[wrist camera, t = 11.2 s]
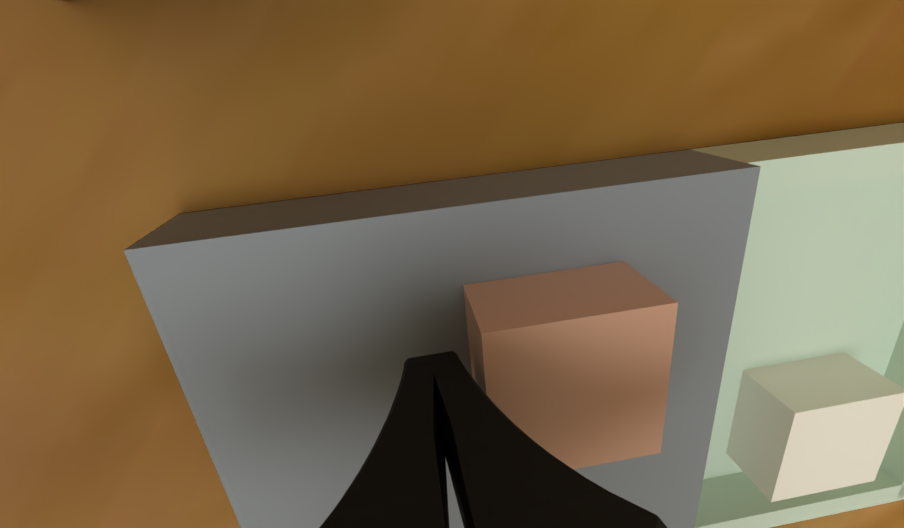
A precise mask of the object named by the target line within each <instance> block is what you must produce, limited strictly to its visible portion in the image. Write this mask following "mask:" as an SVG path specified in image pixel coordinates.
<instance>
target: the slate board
mask: <svg viewBox="0 0 904 528" xmlns="http://www.w3.org/2000/svg"><path fill="white" fill-rule="evenodd" d="M760 168H761V166H757V165H753V164H749V163H745V162H740V161H736V160H732V159H728V158H724V157H719V156H715V155H711V154H707V153H702V152H698V151H694V150H690V149H689V150H681V151H673V152H665V153H657V154H649V155H641V156H633V157H626V158H618V159H610V160H602V161H594V162H586V163H578V164H570V165H562V166H554V167H546V168H538V169H530V170H522V171H514V172H507V173H499V174H491V175H483V176H475V177H467V178H459V179H451V180H443V181H435V182H427V183H419V184H411V185H403V186H395V187H388V188H380V189H372V190H364V191H356V192H348V193H340V194H332V195H324V196H316V197H308V198H300V199H292V200H284V201H277V202H269V203H261V204H253V205H245V206H237V207H229V208H221V209H213V210H205V211H197V212H189V213H181V214H178V215H176V216H175V217H173V218H172V219H170V220H169V221H167V222H166V223H164V224H163V225H161V226H160V227H158V228H157V229H155V230H154V231H152V232H150V233H149V234H147V235H146V236H144V237H143V238H141V239H140V240H138V241H137V242H135V243H134V244H132V245H131V246H129V247H128V248H126V249H125V250H124V252H125V255H126V257H127V259H128V262H129V264H130V266H131V269H132V271H133V274H134V276H135V278H136V281H137V283H138V285H139V288H140V290H141V292H142V295H143V297H144V300H145V302H146V304H147V307H148V309H149V311H150V314H151V316H152V318H153V321H154V323H155V326H156V328H157V330H158V333H159V335H160V337H161V340H162V342H163V345H164V347H165V349H166V352H167V354H168V356H169V359H170V361H171V363H172V366H173V368H174V371H175V373H176V375H177V378H178V380H179V382H180V385H181V387H182V389H183V392H184V394H185V397H186V399H187V401H188V404H189V406H190V408H191V411H192V413H193V415H194V418H195V420H196V423H197V425H198V427H199V430H200V432H201V434H202V437H203V439H204V441H205V444H206V446H207V449H208V451H209V453H210V456H211V458H212V460H213V463H214V465H215V467H216V470H217V472H218V475H219V477H220V479H221V482H222V484H223V486H224V489H225V491H226V493H227V496H228V498H229V501H230V503H231V505H232V508H233V510H234V512H235V515H236V517H237V519H238V522H239V524H240V527H241V528H319V527H320V526H321V525H322V524H323V522H324V521H325V520H326V518H327V517H328V516H329V515H330V513H331V512H332V511H333V509H334V508H335V507H336V505H337V504H338V502H339V501H340V500H341V498H342V497H343V495H344V494H345V492H346V491H347V489H348V488H349V486H350V485H351V483H352V482H353V480H354V478H355V477H356V475H357V474H358V472H359V471H360V469H361V467H362V465H363V464H364V462H365V460H366V459H367V457H368V455H369V453H370V451H371V449H372V448H373V446H374V444H375V442H376V440H377V438H378V436H379V433H380V431H381V429H382V427H383V425H384V423H385V421H386V419H387V416H388V414H389V411H390V409H391V406H392V404H393V401H394V398H395V396H396V393H397V390H398V387H399V384H400V380H401V377H402V373H403V368H404V362H405V361H406V360H407V359H408V358H412V357H419V356H425V355H431V354H437V353H443V352H449V351H454V352H455V353H456V354H457V355H458V357H459V359H460V360H461V362H462V364H463V365H464V367H465V368H466V370H467V371H468V372H469V374H470V375H471V376H472V371H471V361H470V351H469V341H468V330H467V320H466V310H465V300H464V290H463V285H466V284H473V283H480V282H487V281H493V280H500V279H507V278H514V277H520V276H527V275H534V274H541V273H547V272H554V271H561V270H567V269H574V268H581V267H588V266H594V265H601V264H608V263H615V262H621V261H624V262H625V263H627V264H628V265H629V266H631V267H632V268H633V269H634V270H636V271H637V272H638V273H640V274H641V275H642V276H644V277H645V278H646V279H648V280H649V281H650V282H652V283H653V284H654V285H656V286H657V287H658V288H660V289H661V290H662V291H664V292H665V293H666V294H668V295H669V296H670V297H671V298H673V299H674V300H675V301H677V302H678V308H677V316H676V325H675V334H674V342H673V351H672V360H671V368H670V377H669V386H668V394H667V403H666V412H665V420H664V429H663V438H662V446H661V453H657V454H652V455H647V456H641V457H636V458H631V459H626V460H620V461H615V462H610V463H604V464H599V465H594V466H589V467H583V468H578V469H574V470H575V471H577V472H578V473H579V474H581V475H582V476H584V477H585V478H587V479H589V480H590V481H592V482H594V483H596V484H597V485H599V486H601V487H602V488H604V489H606V490H608V491H609V492H611V493H613V494H615V495H617V496H619V497H621V498H623V499H625V500H627V501H629V502H631V503H633V504H635V505H637V506H639V507H642V508H644V509H646V510H648V511H650V512H652V513H654V514H656V515H657V516H658V517H659V518H660V519H661V520H662V521H663V523H664V524H665V525H666V526H667V528H694V527H695V521H696V516H697V511H698V505H699V500H700V494H701V489H702V483H703V478H704V472H705V467H706V462H707V456H708V451H709V445H710V440H711V434H712V429H713V423H714V418H715V413H716V407H717V402H718V396H719V391H720V385H721V380H722V375H723V369H724V364H725V358H726V353H727V347H728V342H729V336H730V331H731V326H732V320H733V315H734V309H735V304H736V298H737V293H738V287H739V282H740V277H741V271H742V266H743V260H744V255H745V249H746V244H747V239H748V233H749V228H750V222H751V217H752V211H753V206H754V200H755V195H756V190H757V184H758V179H759V173H760ZM445 458H446V457H445ZM446 476H447V493H448V511H449V528H464V526H463V522H462V518H461V515H460V511H459V507H458V503H457V499H456V495H455V492H454V488H453V484H452V480H451V476H450V472H449V468H448V465H447V461H446Z"/></svg>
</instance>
